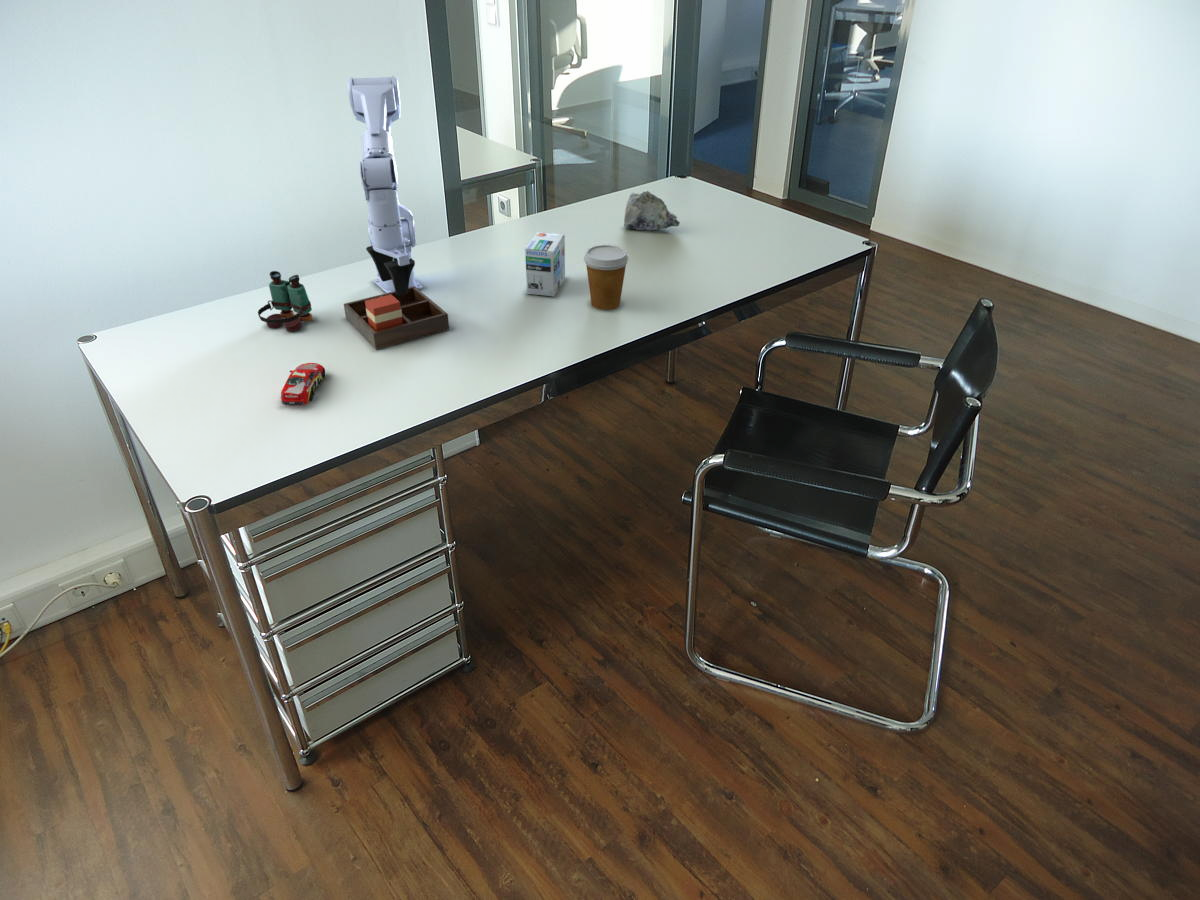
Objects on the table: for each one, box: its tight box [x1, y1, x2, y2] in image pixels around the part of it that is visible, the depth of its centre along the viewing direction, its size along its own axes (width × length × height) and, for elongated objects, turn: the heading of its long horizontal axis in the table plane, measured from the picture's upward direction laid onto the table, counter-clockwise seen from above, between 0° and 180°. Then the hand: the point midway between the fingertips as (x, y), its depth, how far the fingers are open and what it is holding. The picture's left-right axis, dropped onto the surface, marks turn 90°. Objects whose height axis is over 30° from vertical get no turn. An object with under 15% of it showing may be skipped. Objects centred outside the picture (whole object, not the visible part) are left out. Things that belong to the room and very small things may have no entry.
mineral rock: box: [623, 190, 681, 231], centre depth 222 cm, size 13×11×10 cm
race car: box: [280, 362, 326, 406], centre depth 156 cm, size 13×5×4 cm, turn 177°
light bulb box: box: [524, 231, 566, 298], centre depth 192 cm, size 11×7×11 cm, turn 168°
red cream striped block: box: [365, 294, 403, 332], centre depth 172 cm, size 4×6×7 cm
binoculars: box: [257, 270, 314, 333], centre depth 175 cm, size 9×11×10 cm
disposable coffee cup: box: [583, 244, 630, 311], centre depth 185 cm, size 10×10×12 cm
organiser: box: [343, 286, 450, 351], centre depth 178 cm, size 16×16×4 cm
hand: (394, 286), depth 172 cm, fingers open, 7 cm apart
